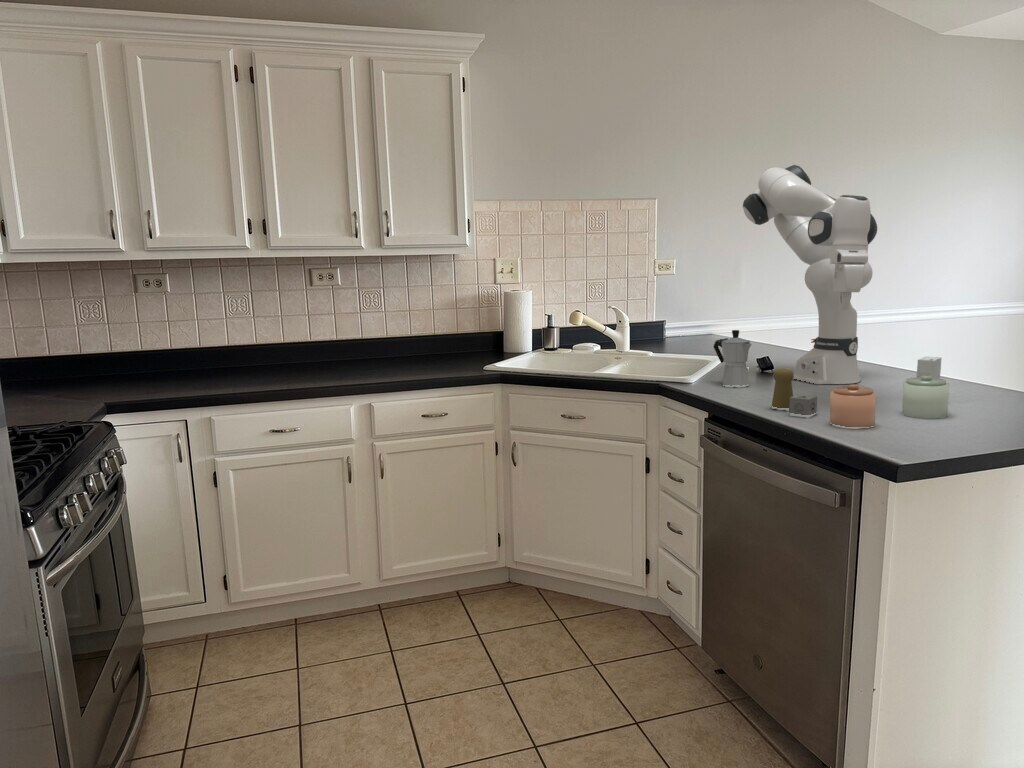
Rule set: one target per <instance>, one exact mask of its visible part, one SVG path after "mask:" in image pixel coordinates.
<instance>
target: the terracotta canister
mask: <svg viewBox="0 0 1024 768" xmlns="http://www.w3.org/2000/svg"><path fill="white" fill-rule="evenodd" d="M829 395H830V398H829V399H830V400H829V401H830V402H829V423H830V422H831V423H832V424H835V425H840V426H845V427H871V426H874V425H875V426H876V407H877V406H876V405H877V392H876V391H874V389H873V388H871V387H866V386H860V385H859V384H856V383H851V384H847V385H842V386H835V387H834V388H833V389H832V390H831V391H830V392H829Z"/></svg>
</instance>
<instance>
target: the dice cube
mask: <svg viewBox="0 0 1024 768" xmlns="http://www.w3.org/2000/svg"><path fill="white" fill-rule="evenodd" d="M788 412H789V413H794V414H801V415H811V414H814V413H816V412H818V396H817V395H809V394H801V393H800V394H795V395H793V396H792V397H790V407H789V411H788Z"/></svg>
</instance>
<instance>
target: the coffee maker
mask: <svg viewBox="0 0 1024 768" xmlns="http://www.w3.org/2000/svg"><path fill="white" fill-rule="evenodd" d="M731 333H732V334H731V335H732V337H731V338H726V337H725V338H720V339H716V340H715V341H714V344H713V349H714V351H715V354H716V355H717V357H718V360H719V362H720V363H721V364H722V363H725V365H724V370H723V376H722V380H721V381H722V383H723V385H730V386H732V385H740V386H742V385H747V384H749V383H750V382H749V377H748V370H747V364H746V362H747V361H748V358H749V357H748V356H749V350H750V348H751V346H753V344H752V343H751V340H749V339H745V338H742V337H739V335H740V330H738V329H733V330H731ZM719 347H720V348H721V349H722V352H721V350H720V348H719ZM722 383H721V384H722ZM749 385H750V384H749Z"/></svg>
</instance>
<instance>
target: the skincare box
mask: <svg viewBox="0 0 1024 768" xmlns="http://www.w3.org/2000/svg"><path fill="white" fill-rule="evenodd" d="M941 370H942V357H941V356H924V357H921V358H918V359H917V367H916V377H915V378H917V377H921V376H932V378H939V379H941Z"/></svg>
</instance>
